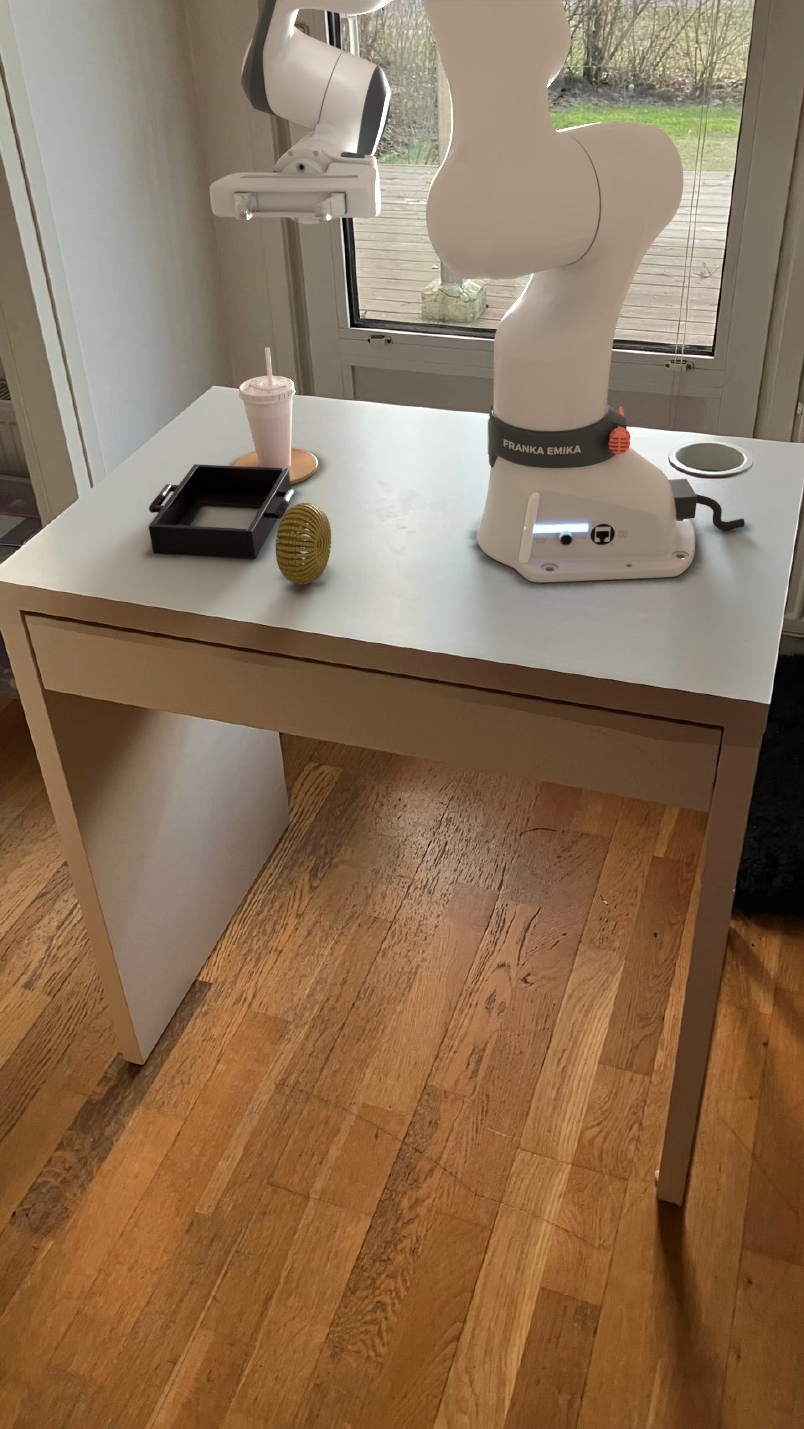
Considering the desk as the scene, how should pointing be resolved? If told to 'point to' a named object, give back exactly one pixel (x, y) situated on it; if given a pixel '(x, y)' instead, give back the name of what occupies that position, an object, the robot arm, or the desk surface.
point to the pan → (223, 490)
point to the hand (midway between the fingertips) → (280, 212)
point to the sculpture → (303, 543)
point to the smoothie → (269, 416)
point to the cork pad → (299, 467)
